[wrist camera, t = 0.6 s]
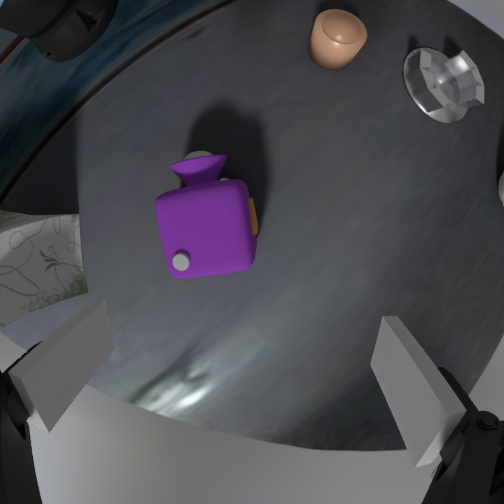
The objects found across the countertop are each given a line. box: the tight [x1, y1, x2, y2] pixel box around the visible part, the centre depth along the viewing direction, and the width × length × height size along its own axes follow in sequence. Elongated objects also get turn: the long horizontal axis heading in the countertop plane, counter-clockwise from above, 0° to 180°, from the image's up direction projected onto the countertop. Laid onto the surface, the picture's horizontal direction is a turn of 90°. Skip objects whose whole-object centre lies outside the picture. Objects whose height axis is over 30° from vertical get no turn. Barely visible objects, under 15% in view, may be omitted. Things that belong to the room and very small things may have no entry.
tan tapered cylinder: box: [308, 9, 367, 70], centre depth 27 cm, size 6×6×8 cm
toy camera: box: [155, 151, 258, 279], centre depth 32 cm, size 11×14×10 cm
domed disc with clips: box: [402, 48, 484, 123], centre depth 28 cm, size 12×12×5 cm
